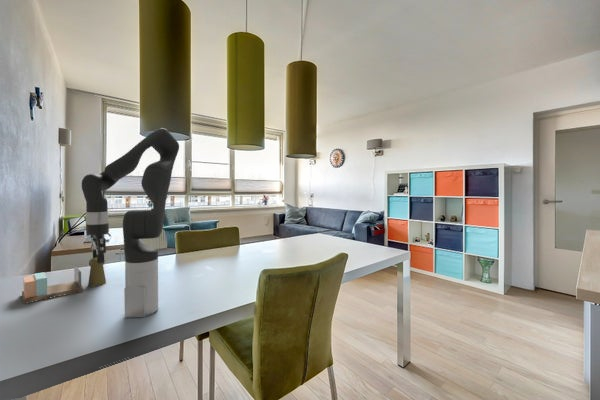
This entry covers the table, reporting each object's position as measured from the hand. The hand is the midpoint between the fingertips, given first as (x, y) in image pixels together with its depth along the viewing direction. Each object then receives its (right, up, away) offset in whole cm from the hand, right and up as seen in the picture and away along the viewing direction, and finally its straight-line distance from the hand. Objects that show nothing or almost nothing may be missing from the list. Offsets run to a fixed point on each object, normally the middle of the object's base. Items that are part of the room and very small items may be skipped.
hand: (98, 260), depth 110 cm
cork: (0, -10, 0) cm, 10 cm away
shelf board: (-9, -10, -10) cm, 17 cm away
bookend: (-4, -8, -5) cm, 11 cm away
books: (-12, -8, -14) cm, 21 cm away
